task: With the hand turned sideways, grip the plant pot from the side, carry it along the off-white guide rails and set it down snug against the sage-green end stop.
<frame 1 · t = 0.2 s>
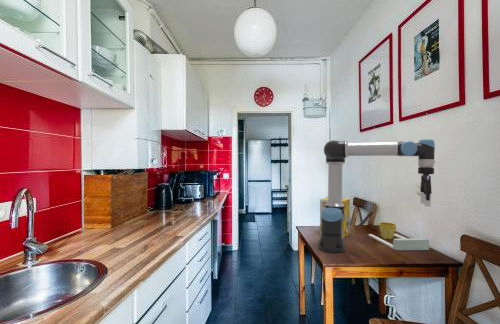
hand: (425, 204, 150), 28 cm above the table, tool pointing down, fingers open, 13 cm apart
plant pot: (387, 238, 183), on the table
guide track: (395, 241, 174), on the table
packaging box: (335, 234, 192), on the table
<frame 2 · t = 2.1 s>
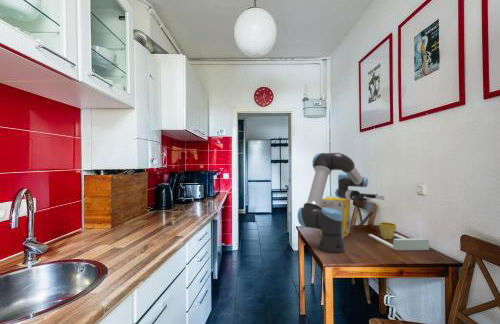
hand: (377, 199, 187), 26 cm above the table, tool horizontal, fingers open, 13 cm apart
nothing on the table moved.
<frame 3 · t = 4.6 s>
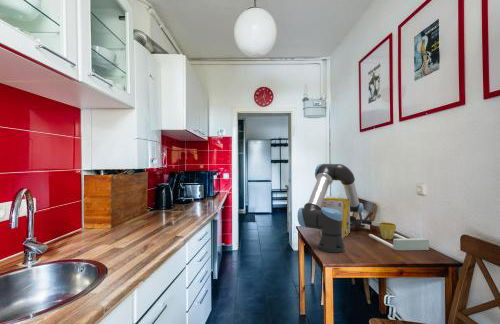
hand: (375, 225, 190), 6 cm above the table, tool horizontal, fingers open, 13 cm apart
nothing on the table moved.
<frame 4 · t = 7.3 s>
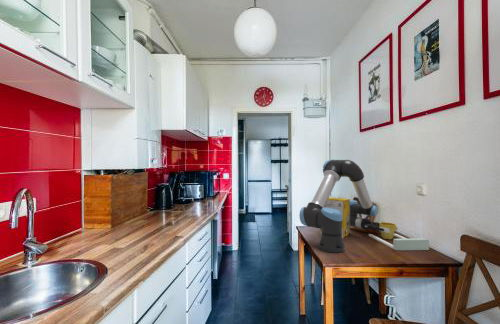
hand: (393, 229, 179), 7 cm above the table, tool horizontal, fingers closed on plant pot, 10 cm apart
plant pot: (387, 238, 183), on the table, touching gripper
everything else where it was.
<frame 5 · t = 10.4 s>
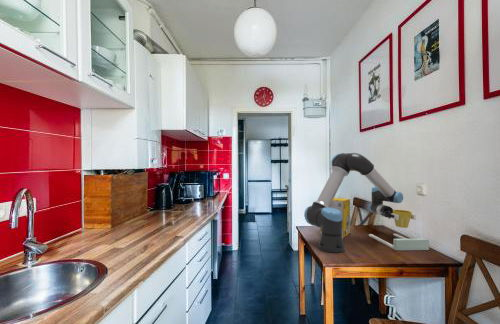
hand: (406, 217, 163), 18 cm above the table, tool horizontal, fingers closed on plant pot, 10 cm apart
plant pot: (401, 226, 167), point 11 cm above the table, touching gripper
everything else where it was.
when the fingers open (8 cm above the table, at t = 13.4 s): plant pot drops 1 cm, on the table.
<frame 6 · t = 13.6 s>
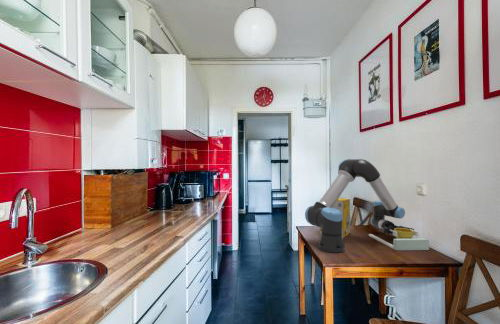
hand: (407, 234, 162), 8 cm above the table, tool horizontal, fingers open, 12 cm apart
plant pot: (403, 245, 166), on the table
everything else where it was.
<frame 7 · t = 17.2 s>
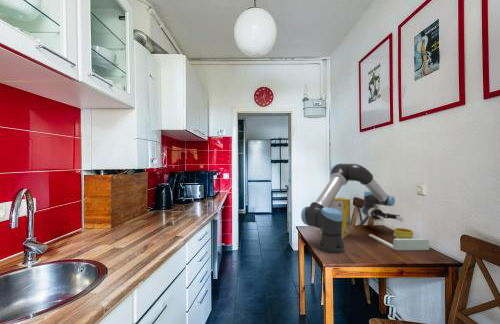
hand: (392, 219, 177), 14 cm above the table, tool horizontal, fingers open, 13 cm apart
nothing on the table moved.
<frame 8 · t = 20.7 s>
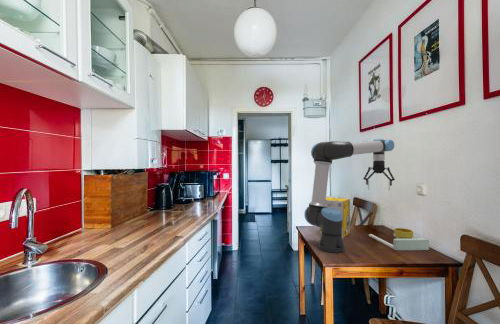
hand: (378, 189, 193), 32 cm above the table, tool pointing down, fingers open, 13 cm apart
nothing on the table moved.
at the end: plant pot inside the target area (0.5 cm from its centre), on the table; plant pot tilted 0°; the gripper is holding nothing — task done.
